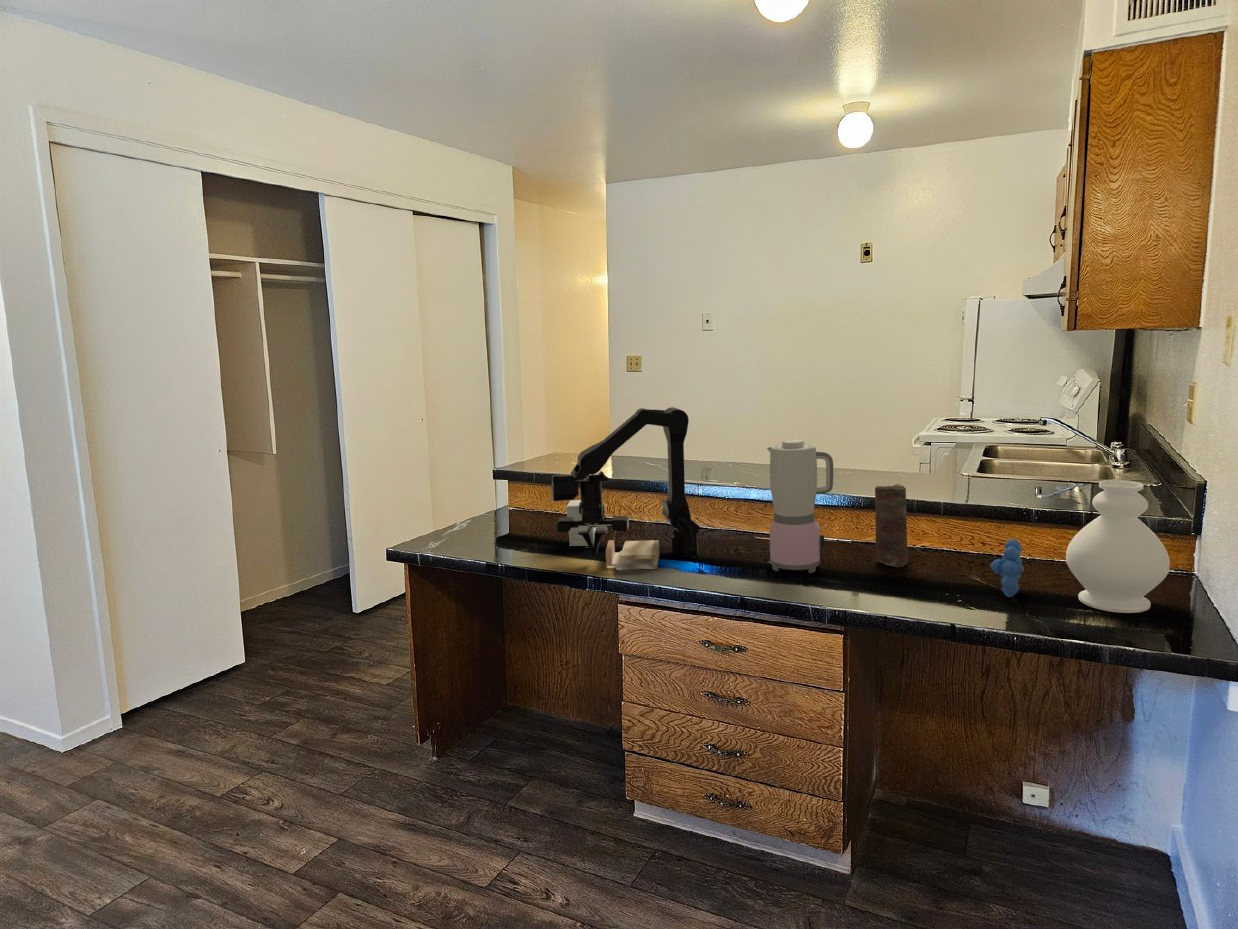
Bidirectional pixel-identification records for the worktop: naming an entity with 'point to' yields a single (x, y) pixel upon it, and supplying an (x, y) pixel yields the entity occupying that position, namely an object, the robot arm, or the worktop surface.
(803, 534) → the blender
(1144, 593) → the decorative vase
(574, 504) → the supplement box
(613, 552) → the beige blocky piece
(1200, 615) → the worktop surface
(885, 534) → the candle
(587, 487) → the robot arm
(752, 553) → the worktop surface
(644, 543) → the beige open box
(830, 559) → the worktop surface
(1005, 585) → the grapes
